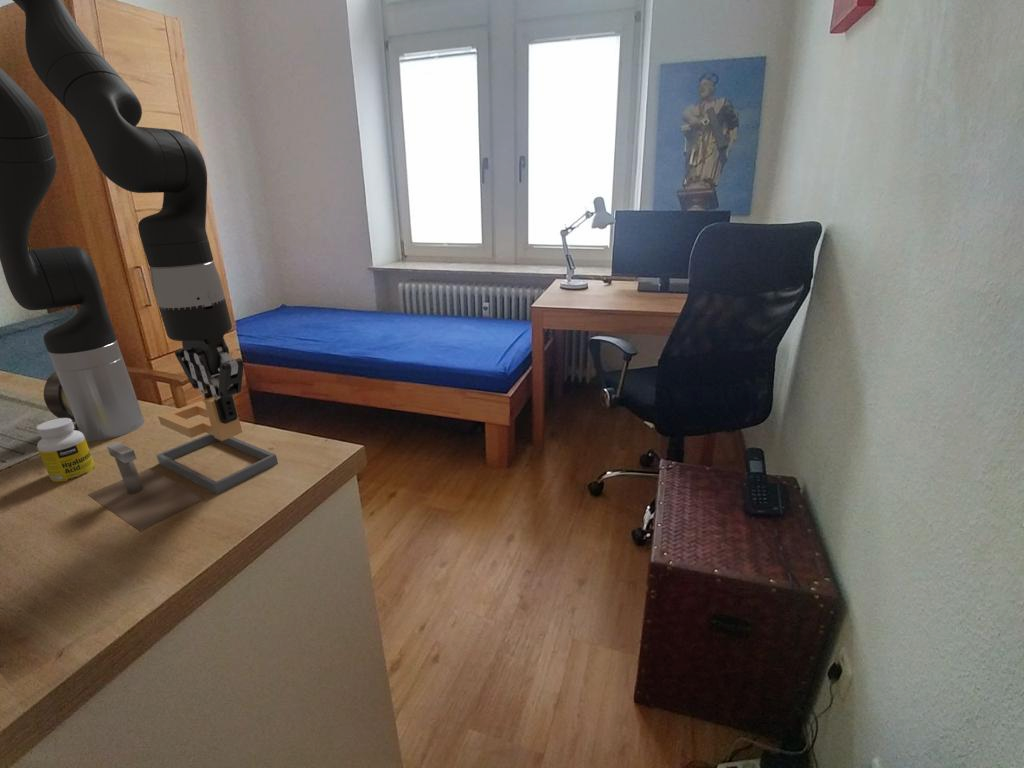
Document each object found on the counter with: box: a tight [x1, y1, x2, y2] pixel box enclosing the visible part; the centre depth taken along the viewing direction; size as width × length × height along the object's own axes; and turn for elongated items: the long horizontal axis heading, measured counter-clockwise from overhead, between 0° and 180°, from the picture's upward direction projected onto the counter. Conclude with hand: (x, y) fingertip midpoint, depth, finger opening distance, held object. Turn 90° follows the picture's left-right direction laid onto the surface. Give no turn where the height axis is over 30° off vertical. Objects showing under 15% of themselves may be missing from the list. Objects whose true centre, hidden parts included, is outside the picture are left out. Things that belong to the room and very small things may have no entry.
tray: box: [156, 433, 279, 495], centre depth 78 cm, size 17×10×3 cm, turn 58°
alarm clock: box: [43, 370, 79, 431], centre depth 93 cm, size 11×5×16 cm, turn 168°
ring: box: [157, 394, 243, 441], centre depth 74 cm, size 14×6×6 cm, turn 58°
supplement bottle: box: [36, 418, 96, 483], centre depth 75 cm, size 5×5×10 cm
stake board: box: [87, 441, 206, 532], centre depth 69 cm, size 16×8×8 cm, turn 58°
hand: (224, 418), depth 71 cm, fingers closed on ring
